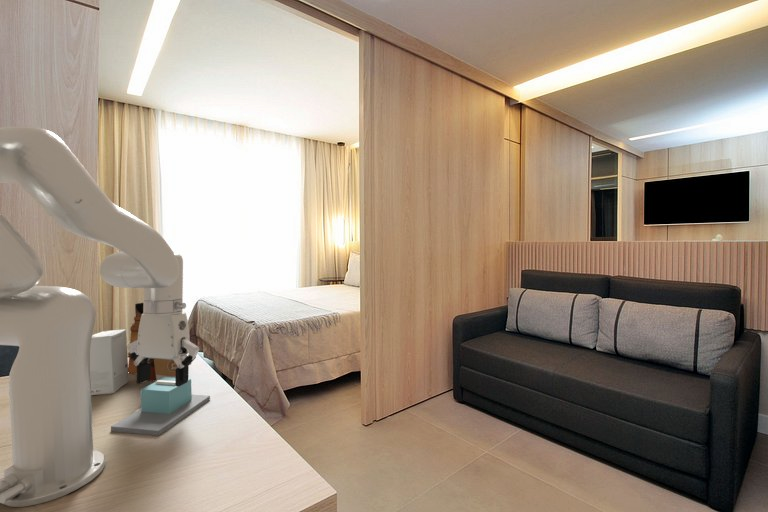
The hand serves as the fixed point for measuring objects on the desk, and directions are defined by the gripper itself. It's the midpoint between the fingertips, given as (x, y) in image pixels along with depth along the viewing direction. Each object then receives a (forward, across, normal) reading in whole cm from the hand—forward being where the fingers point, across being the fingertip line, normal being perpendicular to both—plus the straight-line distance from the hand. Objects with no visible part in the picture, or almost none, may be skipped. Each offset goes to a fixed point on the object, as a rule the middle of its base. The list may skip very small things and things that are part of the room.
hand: (162, 382), depth 80 cm
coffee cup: (+6, +10, -15) cm, 19 cm away
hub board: (+7, -1, 0) cm, 7 cm away
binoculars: (+6, +22, -22) cm, 31 cm away
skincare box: (+6, +24, -10) cm, 27 cm away
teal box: (+6, 0, -2) cm, 6 cm away
